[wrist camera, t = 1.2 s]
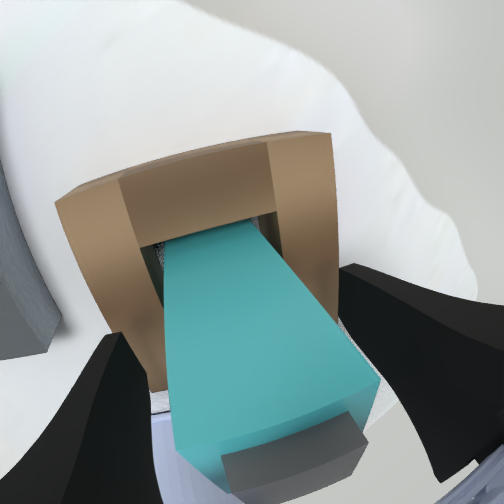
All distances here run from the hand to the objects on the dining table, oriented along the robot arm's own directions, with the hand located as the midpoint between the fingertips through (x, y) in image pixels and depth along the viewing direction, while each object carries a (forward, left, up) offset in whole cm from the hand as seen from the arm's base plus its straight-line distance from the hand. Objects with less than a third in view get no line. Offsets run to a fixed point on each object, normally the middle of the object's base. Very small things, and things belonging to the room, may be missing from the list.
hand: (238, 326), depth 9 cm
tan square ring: (0, 0, -5) cm, 5 cm away
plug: (0, 0, -5) cm, 5 cm away
